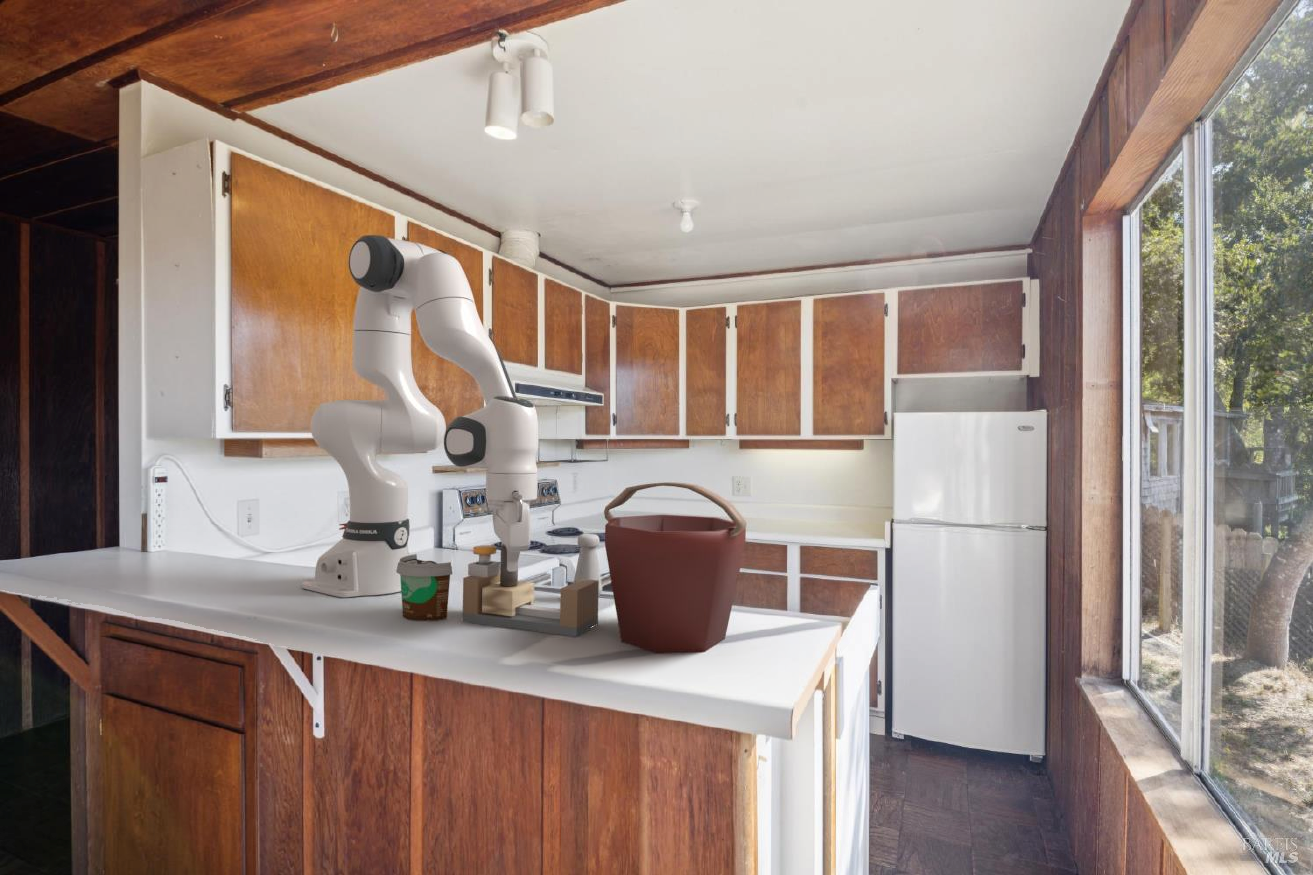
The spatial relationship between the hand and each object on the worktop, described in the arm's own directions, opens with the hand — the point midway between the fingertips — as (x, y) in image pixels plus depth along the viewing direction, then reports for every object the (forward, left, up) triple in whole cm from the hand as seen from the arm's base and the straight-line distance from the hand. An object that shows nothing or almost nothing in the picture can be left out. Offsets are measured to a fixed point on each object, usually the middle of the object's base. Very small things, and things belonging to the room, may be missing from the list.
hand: (510, 568), depth 114 cm
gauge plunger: (-5, 0, 0) cm, 5 cm away
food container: (-16, -5, -9) cm, 19 cm away
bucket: (+29, +3, -9) cm, 31 cm away
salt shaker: (+6, +18, -9) cm, 21 cm away
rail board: (+4, 0, -9) cm, 10 cm away
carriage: (0, 0, -7) cm, 7 cm away
